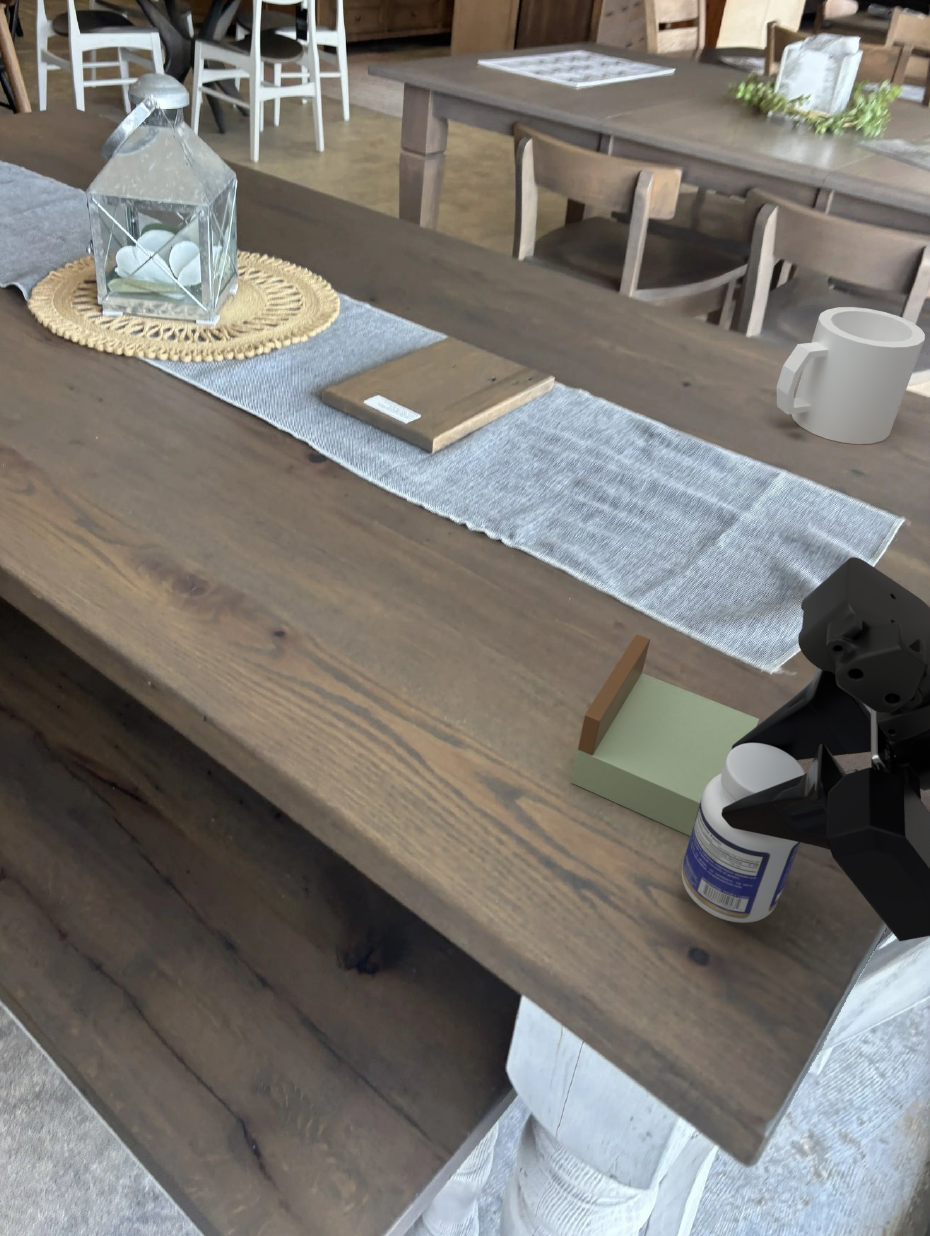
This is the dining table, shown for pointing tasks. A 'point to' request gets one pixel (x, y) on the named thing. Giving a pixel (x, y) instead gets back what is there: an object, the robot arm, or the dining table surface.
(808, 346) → the mug
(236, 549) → the dining table surface
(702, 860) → the pill bottle
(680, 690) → the low shelf
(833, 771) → the robot arm
